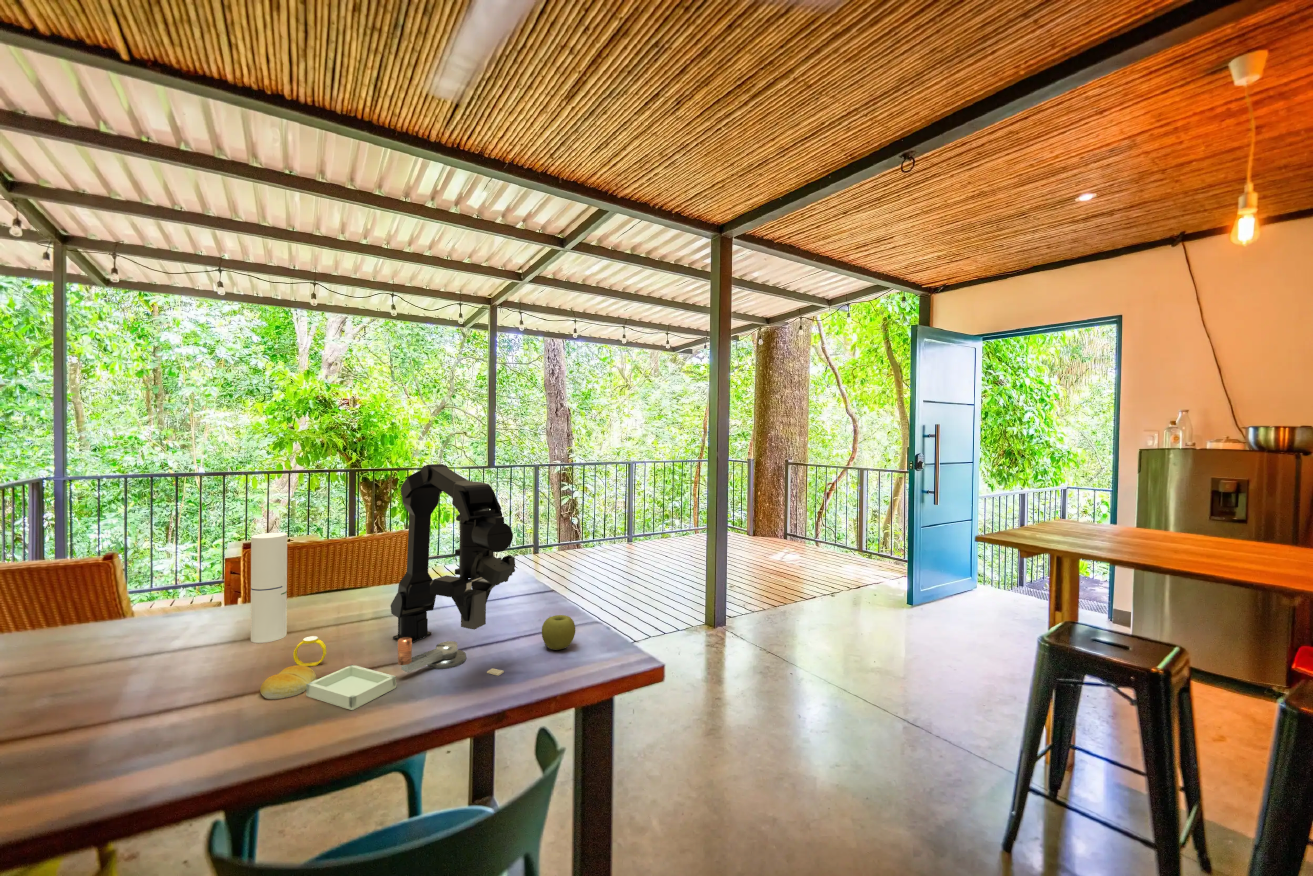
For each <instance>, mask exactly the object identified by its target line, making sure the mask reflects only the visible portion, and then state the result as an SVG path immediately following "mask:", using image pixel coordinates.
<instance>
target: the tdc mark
mask: <svg viewBox="0 0 1313 876" xmlns="http://www.w3.org/2000/svg"><path fill="white" fill-rule="evenodd" d="M504 672H505V671H504V670H502V669H497V668H493V667H492V668H490V669H488V670H487V671H486V674H490V675H494V676H497V677H498V676H500V675H502V674H503V673H504ZM504 674H505V673H504Z"/></svg>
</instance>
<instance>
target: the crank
mask: <svg viewBox="0 0 1313 876" xmlns="http://www.w3.org/2000/svg"><path fill="white" fill-rule="evenodd" d="M412 645H413V643H412V638H411V637H403V638H400V639H398V640H397V665H399V666H401V670H402V671H404V672H406V673H410V672H413V671H416V670H417V669H420V668H422V667H426V666H428V664H431V663H433V662H436V661H438V660H441V659H451V658H454V657H455V656H457V650H458V642H457V641H453V640H450V641H449V640H448V641H442V642H439V643H437V644H436V647H435V648H434V649H431V650H428V651H426V652H423V653H420V654H418V655H415V656H413V655H412V653H413V652H412V651H413V650H412V649H413V646H412Z"/></svg>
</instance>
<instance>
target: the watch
mask: <svg viewBox="0 0 1313 876" xmlns="http://www.w3.org/2000/svg"><path fill="white" fill-rule="evenodd" d="M303 644H305V645H311V644H317V645H318V646H320V648H321V649H322V656H321V659H319V660H318V661H314V662H313V661H312V662H303V661H302V660H300V658H299V656H298V649H300V647H301V646H302V645H303ZM327 651H328V650H327V646H326V644H325V643H324V641H322V640H321V639H319V637H318V636H316V635H311V636H306V637H304V638H303V639H302V641H300V642H299V643H298V644H297V645H296V647H295V649H294V650H293V655H292V658H293V660H294V663H295V664H296V665H303V666H307V667H314V666H315V667H317V666H319V664H320V663H323V661H324V659H325V657H326V655H327Z"/></svg>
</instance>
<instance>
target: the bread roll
mask: <svg viewBox="0 0 1313 876" xmlns="http://www.w3.org/2000/svg"><path fill="white" fill-rule="evenodd" d="M317 679H318V678H317V675H316V673H315V671H314V670H313V669H312V668H310V666H303V665H297V664H296V665H291V666H287V667H285V668H283V669H282V670H280V672H278V673H276V674H273V675H270V676H269V677H267V678H266V679H265V680H264V681H263V682H262V683H261V685H260V690H259V691H260V694H261V695H262V697H263V698H265V699H268V700H279V699H286V698H291V697H295V696H298V695H300V694H302V693H304V692H306V684H308V683H310V682H313V681H315V680H317Z"/></svg>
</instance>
